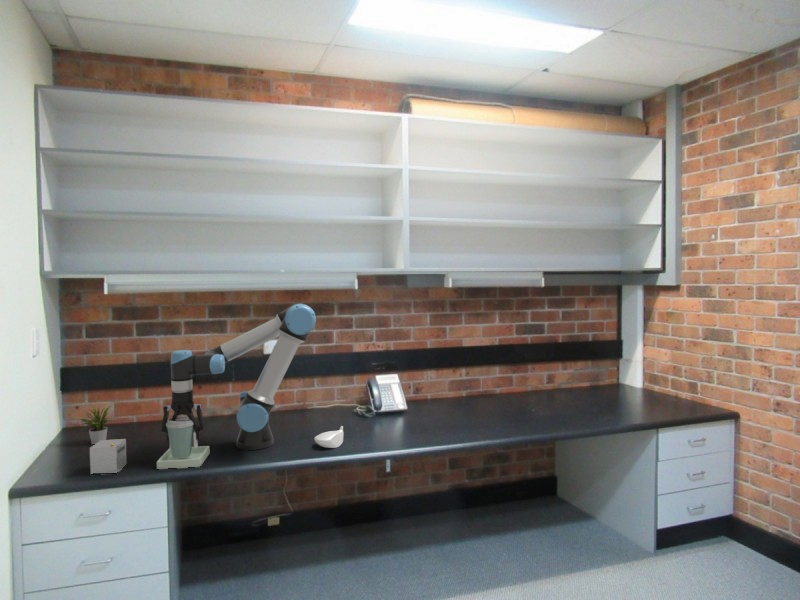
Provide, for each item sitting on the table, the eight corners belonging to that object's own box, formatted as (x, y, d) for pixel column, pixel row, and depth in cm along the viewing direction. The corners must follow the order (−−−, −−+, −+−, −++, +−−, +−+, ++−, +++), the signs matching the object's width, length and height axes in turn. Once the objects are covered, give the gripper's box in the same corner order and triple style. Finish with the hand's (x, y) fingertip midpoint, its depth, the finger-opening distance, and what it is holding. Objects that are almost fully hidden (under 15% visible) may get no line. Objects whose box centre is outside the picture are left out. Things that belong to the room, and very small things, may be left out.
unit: (127, 464, 198) (126, 437, 197) (117, 473, 189) (116, 445, 188) (100, 466, 197) (99, 439, 196) (89, 475, 188) (88, 446, 187)
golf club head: (350, 425, 219) (325, 418, 213) (345, 451, 214) (319, 444, 209) (339, 427, 227) (314, 420, 221) (334, 452, 222) (308, 446, 217)
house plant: (98, 436, 233) (96, 400, 233) (125, 437, 231) (124, 401, 230) (72, 446, 219) (71, 408, 219) (101, 448, 217) (99, 410, 216)
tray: (209, 453, 210) (209, 445, 209) (200, 467, 194) (199, 459, 194) (169, 455, 208) (169, 448, 208) (156, 469, 192) (156, 461, 192)
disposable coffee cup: (189, 449, 208) (188, 413, 208) (201, 456, 201) (200, 417, 200) (162, 456, 201) (161, 418, 200) (173, 463, 193) (172, 423, 193)
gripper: (212, 387, 205) (214, 444, 206) (156, 389, 202) (158, 446, 203) (208, 391, 197) (209, 450, 198) (150, 393, 195) (152, 453, 196)
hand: (183, 448), depth 201 cm, fingers open, 8 cm apart
